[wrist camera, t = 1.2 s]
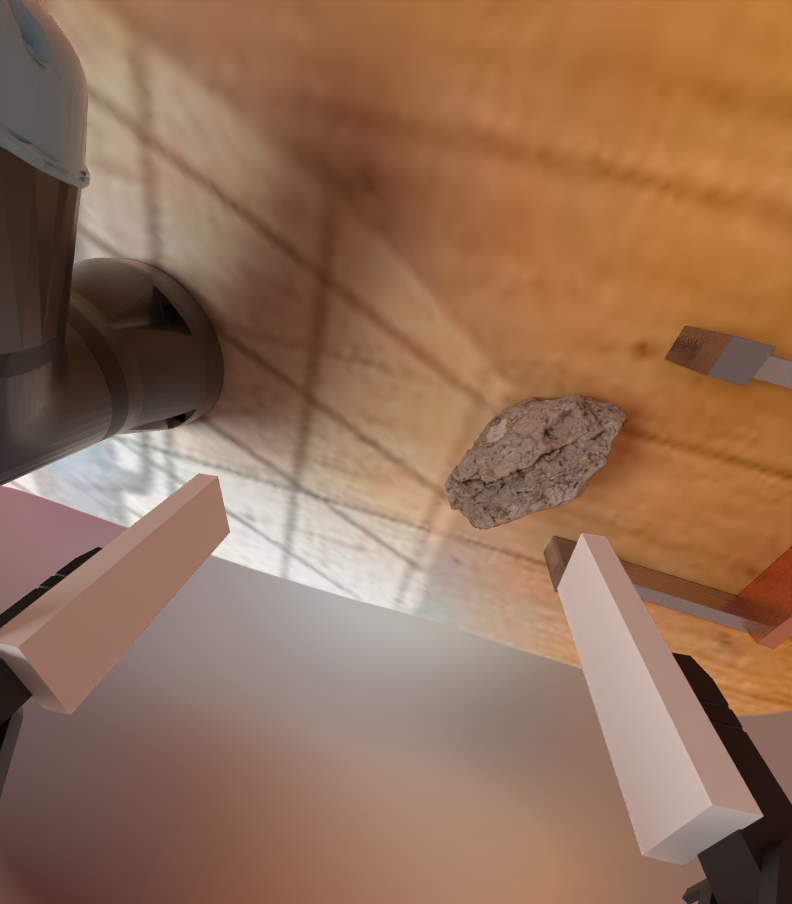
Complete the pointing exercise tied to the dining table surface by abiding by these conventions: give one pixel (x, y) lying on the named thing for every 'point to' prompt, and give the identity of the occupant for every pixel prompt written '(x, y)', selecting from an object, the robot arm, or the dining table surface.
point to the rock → (533, 458)
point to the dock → (753, 611)
